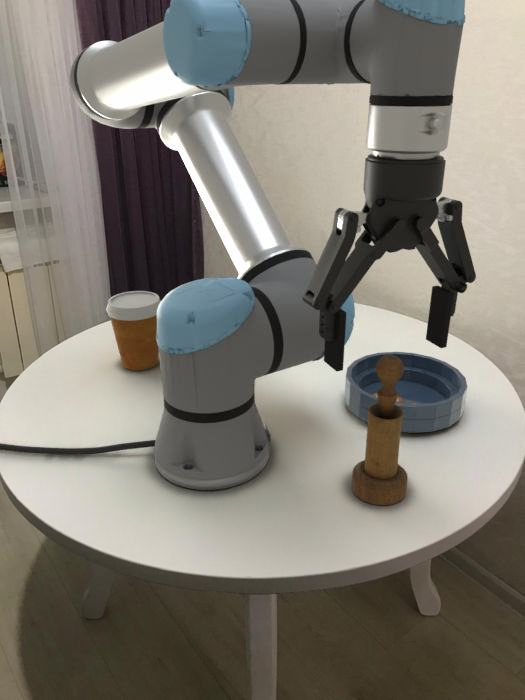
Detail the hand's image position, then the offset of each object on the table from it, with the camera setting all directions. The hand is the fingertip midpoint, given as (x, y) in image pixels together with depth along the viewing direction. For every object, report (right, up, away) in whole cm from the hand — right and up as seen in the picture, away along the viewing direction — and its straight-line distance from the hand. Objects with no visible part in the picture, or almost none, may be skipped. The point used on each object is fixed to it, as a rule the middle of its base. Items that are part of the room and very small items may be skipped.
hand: (386, 354), depth 65 cm
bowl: (+8, -8, +25) cm, 28 cm away
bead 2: (+6, -8, +22) cm, 24 cm away
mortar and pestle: (+1, -17, +7) cm, 18 cm away
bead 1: (+3, -7, +23) cm, 24 cm away
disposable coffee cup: (-35, -2, +40) cm, 53 cm away
